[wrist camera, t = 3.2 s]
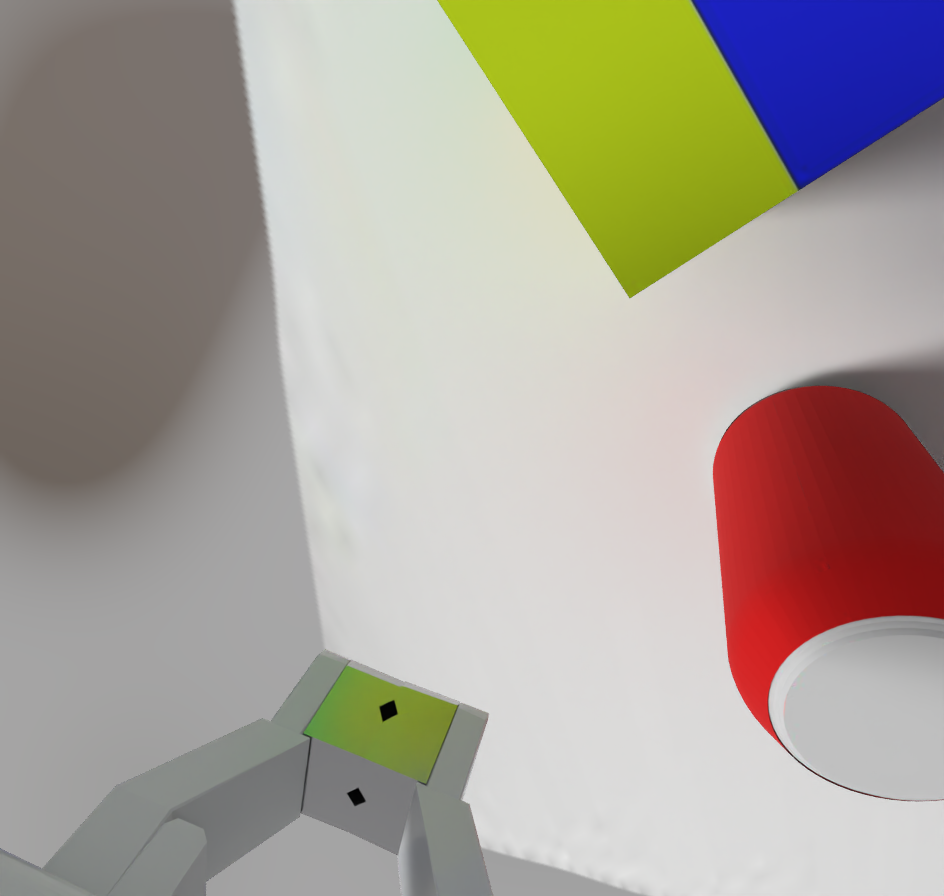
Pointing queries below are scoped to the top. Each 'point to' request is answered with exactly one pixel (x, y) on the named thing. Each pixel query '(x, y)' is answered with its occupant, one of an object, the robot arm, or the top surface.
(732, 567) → the beverage can
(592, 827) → the top surface
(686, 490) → the top surface
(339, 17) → the top surface
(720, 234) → the puzzle toy
